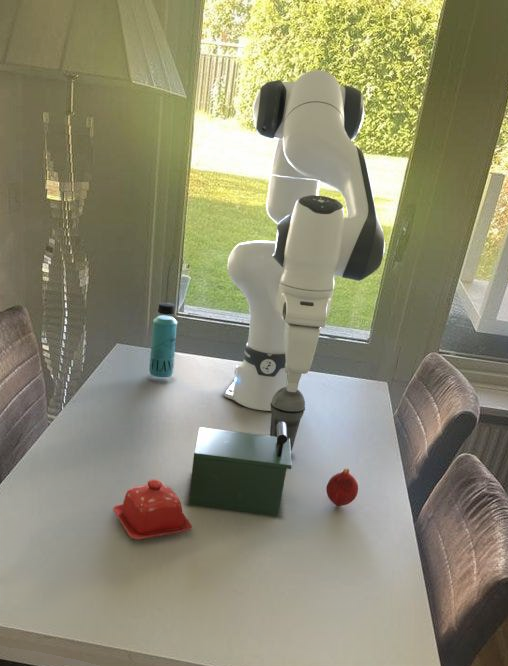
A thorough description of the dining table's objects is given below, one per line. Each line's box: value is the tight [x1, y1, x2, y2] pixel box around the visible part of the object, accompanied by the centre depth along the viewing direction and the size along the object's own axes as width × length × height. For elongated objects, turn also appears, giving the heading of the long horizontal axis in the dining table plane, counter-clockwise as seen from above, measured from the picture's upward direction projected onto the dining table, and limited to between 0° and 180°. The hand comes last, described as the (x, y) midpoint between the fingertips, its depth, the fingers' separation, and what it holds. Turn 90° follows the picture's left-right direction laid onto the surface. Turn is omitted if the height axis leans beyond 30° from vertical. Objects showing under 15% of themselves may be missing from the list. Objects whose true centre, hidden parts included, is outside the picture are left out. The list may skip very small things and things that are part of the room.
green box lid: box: [193, 422, 293, 470], centre depth 127 cm, size 17×12×5 cm, turn 84°
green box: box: [188, 456, 287, 517], centre depth 131 cm, size 17×12×10 cm
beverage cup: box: [269, 373, 306, 452], centre depth 145 cm, size 7×7×20 cm
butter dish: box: [112, 478, 193, 540], centre depth 119 cm, size 12×12×8 cm
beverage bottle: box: [148, 302, 178, 378], centre depth 180 cm, size 6×7×20 cm
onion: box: [325, 467, 359, 507], centre depth 131 cm, size 6×6×8 cm
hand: (290, 381), depth 122 cm, fingers open, 8 cm apart
